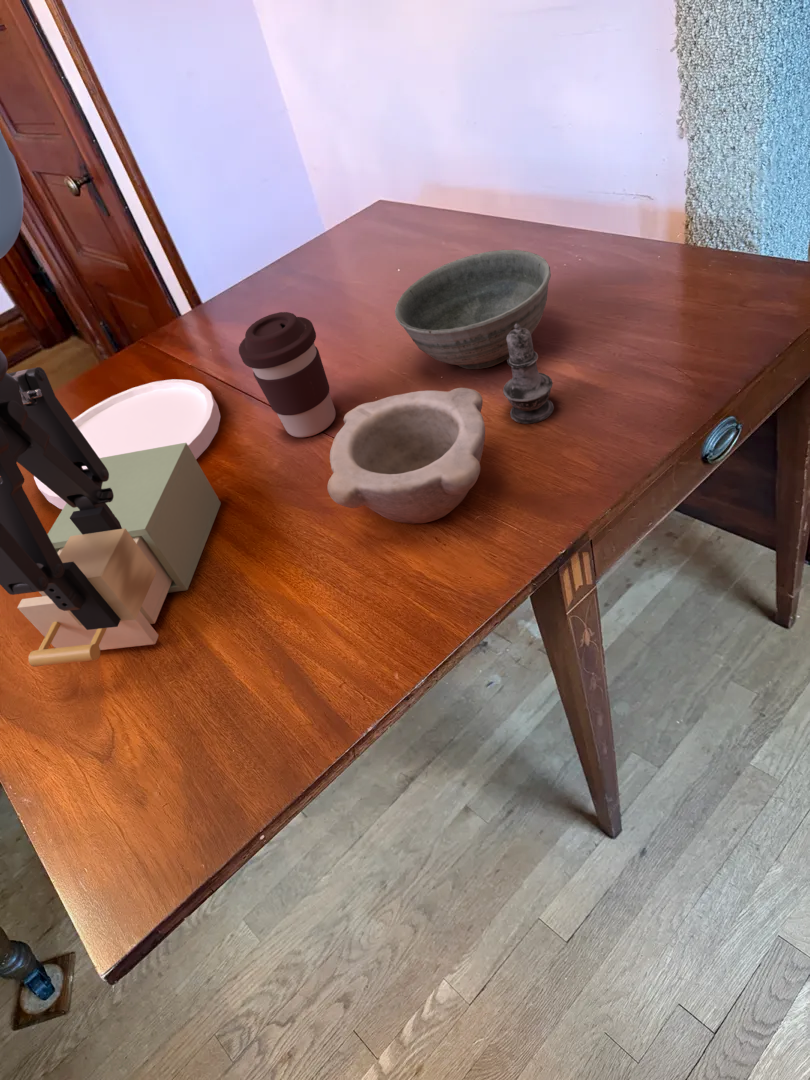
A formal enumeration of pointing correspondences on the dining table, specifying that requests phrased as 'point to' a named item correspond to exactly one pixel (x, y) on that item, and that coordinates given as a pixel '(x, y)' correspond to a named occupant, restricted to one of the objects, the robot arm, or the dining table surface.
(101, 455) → the plate
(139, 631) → the drawer
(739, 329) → the dining table surface
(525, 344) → the grey stone chess piece
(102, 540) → the block
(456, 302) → the bowl
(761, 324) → the dining table surface
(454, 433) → the mortar
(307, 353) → the coffee cup
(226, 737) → the dining table surface
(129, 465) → the cabinet
